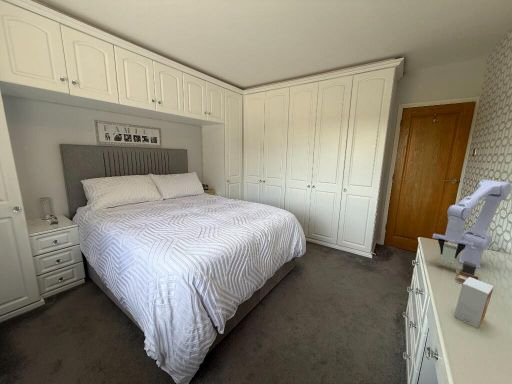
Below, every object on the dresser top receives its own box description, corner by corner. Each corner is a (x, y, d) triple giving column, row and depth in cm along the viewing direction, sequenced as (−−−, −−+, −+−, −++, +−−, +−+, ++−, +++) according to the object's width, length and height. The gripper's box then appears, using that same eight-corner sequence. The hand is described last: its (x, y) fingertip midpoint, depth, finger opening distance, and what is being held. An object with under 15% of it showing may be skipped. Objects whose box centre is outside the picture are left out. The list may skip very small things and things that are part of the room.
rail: (456, 268, 107) (458, 258, 106) (478, 275, 102) (481, 264, 100) (455, 281, 96) (458, 270, 94) (480, 290, 90) (484, 278, 89)
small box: (478, 329, 70) (488, 294, 67) (453, 316, 75) (461, 283, 72) (484, 319, 74) (494, 285, 71) (460, 307, 79) (468, 276, 77)
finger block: (441, 256, 110) (444, 243, 108) (453, 259, 107) (456, 246, 105) (440, 259, 106) (444, 246, 104) (453, 263, 103) (456, 250, 101)
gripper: (434, 227, 105) (428, 253, 107) (476, 236, 95) (468, 264, 98) (435, 224, 110) (430, 248, 113) (475, 232, 100) (468, 259, 103)
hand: (448, 255), depth 105 cm, fingers closed on finger block, 4 cm apart
